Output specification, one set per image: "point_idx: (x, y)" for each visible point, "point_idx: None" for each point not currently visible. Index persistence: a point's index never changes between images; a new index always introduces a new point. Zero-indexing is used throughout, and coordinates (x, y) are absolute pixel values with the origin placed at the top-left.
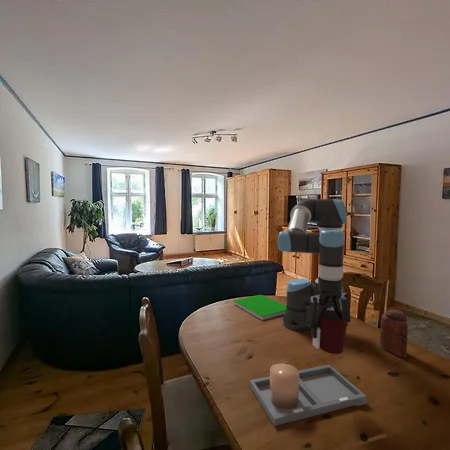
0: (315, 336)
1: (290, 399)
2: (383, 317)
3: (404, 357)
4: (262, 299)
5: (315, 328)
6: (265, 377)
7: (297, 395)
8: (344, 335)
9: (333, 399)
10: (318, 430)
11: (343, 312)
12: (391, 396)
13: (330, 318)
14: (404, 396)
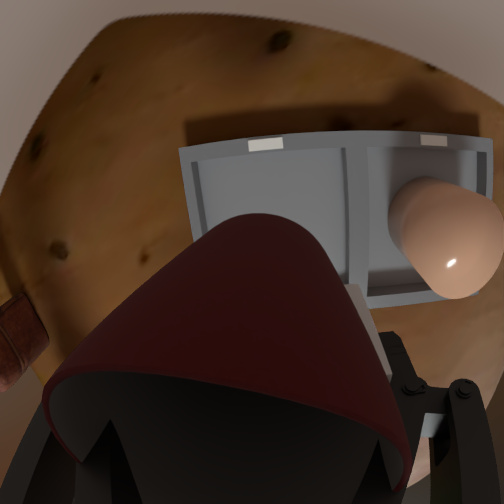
0: (386, 340)
1: (441, 180)
2: (4, 383)
3: (21, 293)
4: None
5: (420, 380)
6: (440, 298)
7: (415, 189)
8: (169, 263)
9: (282, 176)
10: (389, 89)
11: (71, 460)
12: (103, 168)
13: (192, 459)
14: (76, 165)
